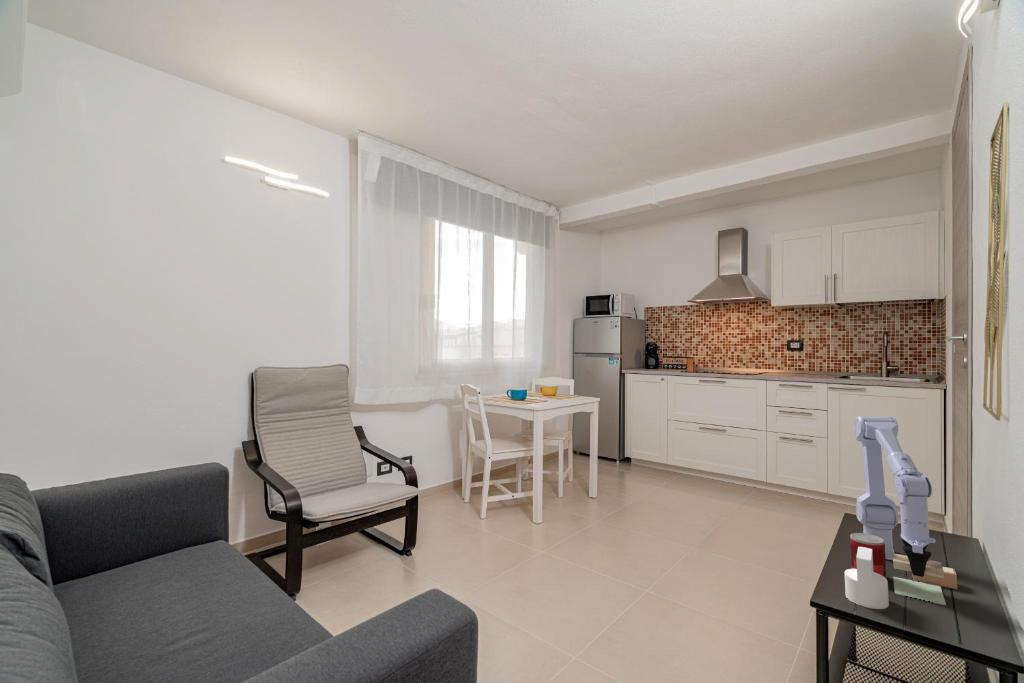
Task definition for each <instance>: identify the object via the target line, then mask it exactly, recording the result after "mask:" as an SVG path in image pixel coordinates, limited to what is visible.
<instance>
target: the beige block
mask: <svg viewBox="0 0 1024 683" xmlns="http://www.w3.org/2000/svg"><path fill="white" fill-rule="evenodd" d="M892 563H893V569H897V570H901V571H905V572H911V573H912V571H911V567H910V562H909V559H908V557H907V555H904V554H899V553H895V552H894V553H893V560H892ZM943 567H944V566H943V565H942V562H941V561H937V560H933V559H932V560H930V559H928V561H927V564H926V568H925V573H924V574H925V575H930V576H936V577H941V578H944V570H943Z"/></svg>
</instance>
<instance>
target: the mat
mask: <svg viewBox="0 0 1024 683" xmlns="http://www.w3.org/2000/svg"><path fill="white" fill-rule="evenodd" d="M892 579H893V580H892V581H893V589H894V594H895V595H898V596H902V597H905V596H908V597H907V598H910V597H912V598H911V599H914V598H917V599H916V600H919V599H921V600H920V601H923V600H925V601H924V602H928V601H930V602H929V603H932V602H933V603H932V604H936V605H941V606H947V603H946V599H945V597H944V593H943V591H942V586H938V585H933V584H928V583H923V582H918V581H914V580H912V579H907V578H902V577H897V576H893V577H892Z"/></svg>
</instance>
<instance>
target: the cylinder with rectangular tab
mask: <svg viewBox="0 0 1024 683" xmlns="http://www.w3.org/2000/svg"><path fill="white" fill-rule="evenodd" d="M856 562H857V569H852V568H847V569H845V570H844V586H845V587H844V588H845V589H844V591H845V597H846V599H847V598H848V599H847V600H848V601H850V602H852V603H853V602H854V604H855V603H856V604H855V605H857V606H860V605H861V607H864V608H868V609H872V610H873V609H875V610H884V609H888V607H889V606H890V603H889V602H890V601H889V585H888V583H889V582H888V579H887V577H886V578H885V577H883V576H882V575H880V574H877V573H875V572H873V554H872V549H870V548H865V547H858V551H857V556H856Z"/></svg>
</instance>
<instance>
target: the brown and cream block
mask: <svg viewBox="0 0 1024 683" xmlns="http://www.w3.org/2000/svg"><path fill="white" fill-rule="evenodd" d="M942 567H943V570H944V578H941V577H936V576H930V575H925V574H924V576H923V577H920V576H915V575H913V574H912V573H911V574H912V575H911V576H912V579H913V580H912V581H917V582H918V581H919V582H922V583H927V584H931V585H936V586H940V587H944V588H947V589H954V590H958V576H957V572H956V571H955V568H951V567H946V566H942Z"/></svg>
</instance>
